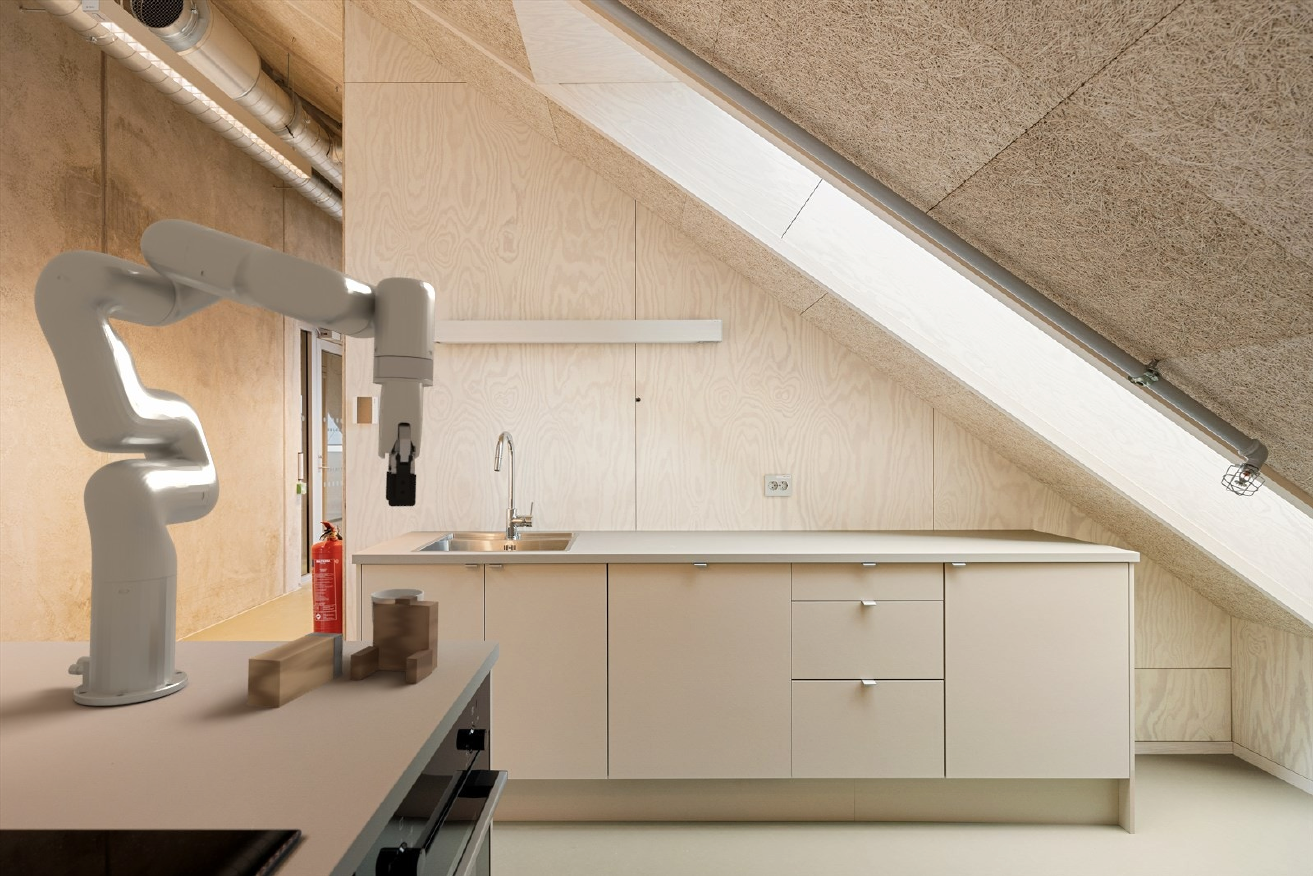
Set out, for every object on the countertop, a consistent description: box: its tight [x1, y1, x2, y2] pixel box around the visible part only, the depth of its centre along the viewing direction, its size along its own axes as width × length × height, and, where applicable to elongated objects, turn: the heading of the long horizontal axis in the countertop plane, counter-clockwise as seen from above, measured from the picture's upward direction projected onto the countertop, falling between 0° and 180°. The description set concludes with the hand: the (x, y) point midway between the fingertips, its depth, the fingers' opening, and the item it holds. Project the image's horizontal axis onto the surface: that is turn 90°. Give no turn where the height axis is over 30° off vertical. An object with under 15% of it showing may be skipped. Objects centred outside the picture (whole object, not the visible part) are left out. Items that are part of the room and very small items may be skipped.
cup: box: [370, 588, 425, 623], centre depth 118 cm, size 8×8×10 cm
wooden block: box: [247, 631, 344, 708], centre depth 101 cm, size 5×14×6 cm, turn 172°
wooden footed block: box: [349, 595, 439, 684], centre depth 108 cm, size 10×8×11 cm
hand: (399, 503), depth 96 cm, fingers open, 9 cm apart
